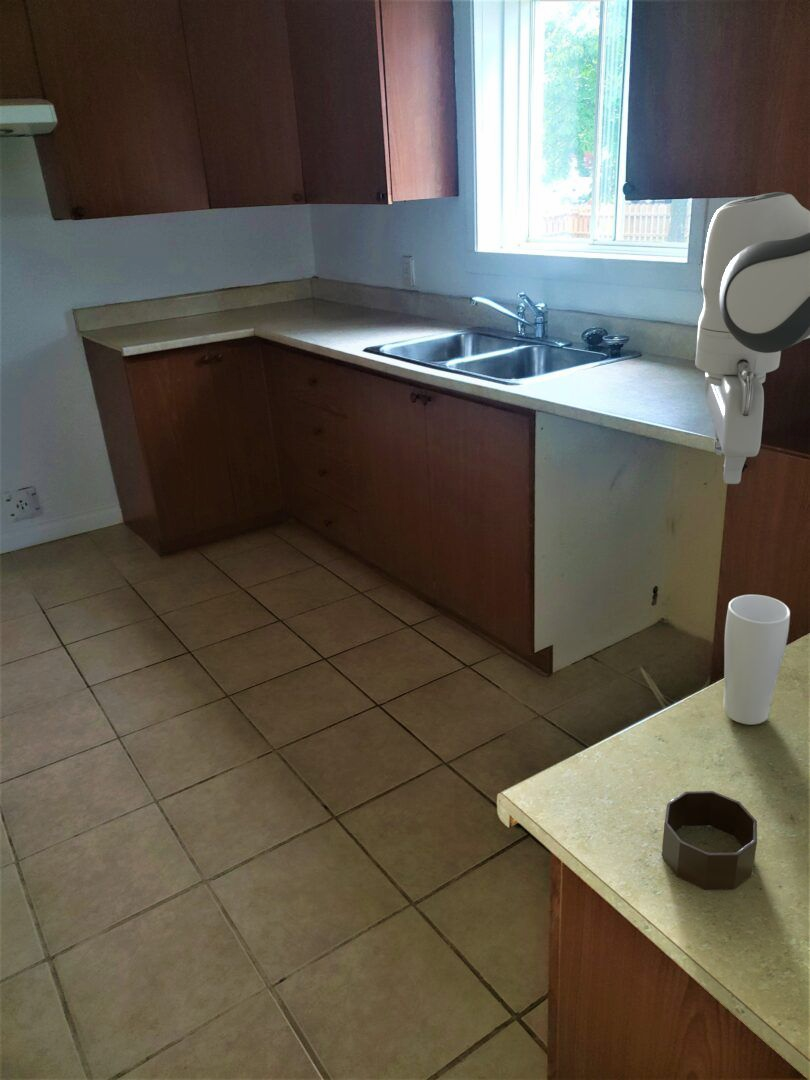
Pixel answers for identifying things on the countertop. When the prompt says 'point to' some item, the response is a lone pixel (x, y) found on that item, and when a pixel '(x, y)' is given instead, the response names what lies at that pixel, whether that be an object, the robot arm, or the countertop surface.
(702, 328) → the robot arm
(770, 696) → the drinking glass
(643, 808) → the countertop surface
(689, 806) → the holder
